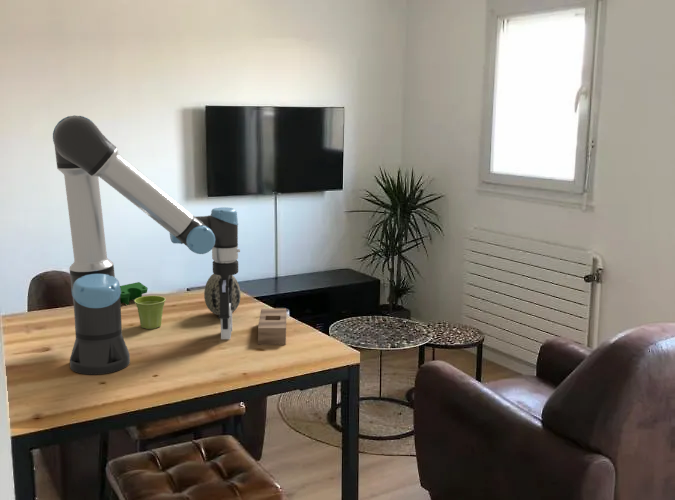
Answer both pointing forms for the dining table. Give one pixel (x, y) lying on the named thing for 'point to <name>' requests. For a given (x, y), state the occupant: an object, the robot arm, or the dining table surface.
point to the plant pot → (150, 311)
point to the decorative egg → (214, 297)
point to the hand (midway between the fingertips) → (226, 334)
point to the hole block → (272, 327)
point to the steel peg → (230, 316)
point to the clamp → (132, 292)
